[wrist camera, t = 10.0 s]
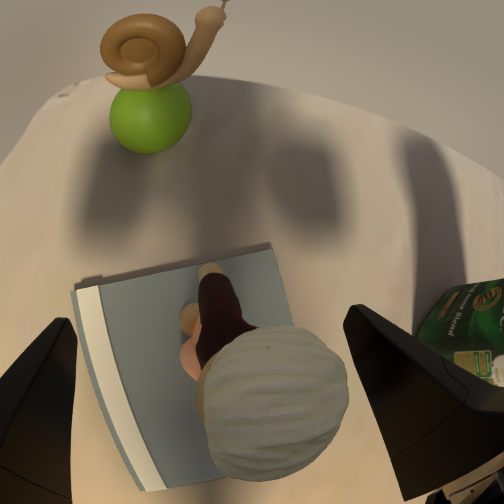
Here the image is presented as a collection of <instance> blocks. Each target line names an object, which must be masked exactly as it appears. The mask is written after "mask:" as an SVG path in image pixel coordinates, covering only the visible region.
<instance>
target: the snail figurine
mask: <svg viewBox="0 0 504 504" xmlns="http://www.w3.org/2000/svg"><path fill="white" fill-rule="evenodd" d="M222 1H224V2H223V4H222V7H221V8H218V7H213V6H210V7H205V8H203V9H201V10H200V11H199V12H198V13H197V14H196V17H195V24H196V29H195V31H194V33H193V36H192V38H191V39H190V42H189V43H188V45H187V47H186V44H185V40H184V36H183V34H182V32H181V31H180V29H179V28H178V27H177V26H176V25H175V24H174V23H173V22H171V21H170V20H168V19H166V18H164V17H161V16H159V15H154V14H136V15H131V16H128V17H125V18H123V19H121V20H119V21H117V22H116V23H114V24H113V25H112V26H111V27H110V28H109V29H108V30H107V31H106V33H105V34H104V36H103V38H102V41H101V45H100V53H101V57H102V59H103V61H104V63H105V64H106V65H107V66H108V67H109V68H110V69H112V70H114V71H116V72H111V73H107V74H106V75H105V79H106V80H107V81H109V82H110V83H111V84H113V85H115V86H117V87H119V88H122V89H121V90H120V91H119V92H118V93H117V95H116V96H115V98H114V100H113V102H112V105H111V109H110V116H109V120H110V127H111V130H112V132H113V135H114V136H115V138H116V139H117V141H118V142H119V143H120V144H121V145H122V146H124V147H125V148H127V149H129V150H131V151H133V152H136V153H142V154H152V153H157V152H160V151H163V150H165V149H167V148H169V147H171V146H172V145H174V144H175V143H176V142H177V141H178V140H179V139H180V138H181V137H182V136H183V134H184V133H185V131H186V130H187V128H188V125H189V122H190V119H191V102H190V98H189V96H188V94H187V92H186V90H185V89H184V87H183V86H182V85H181V84H180V83H178V82H181V81H183V80H185V79H186V78H188V77H189V76H190V75H192V74H193V73H194V71H195V70H196V69H197V68H198V67H199V65H200V64H201V63H202V61H203V60H204V58H205V56H206V55H207V52H208V51H209V49H210V47H211V45H212V43H213V41H214V39H215V36H216V34H217V32H218V31H219V29H220V28H221V27H222V26H223V24H224V23H223V21H224V20H225V19H226V14H225V12H224V11H223V10H224V8H225V4H226V1H229V0H222ZM222 8H223V9H222Z"/></svg>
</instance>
